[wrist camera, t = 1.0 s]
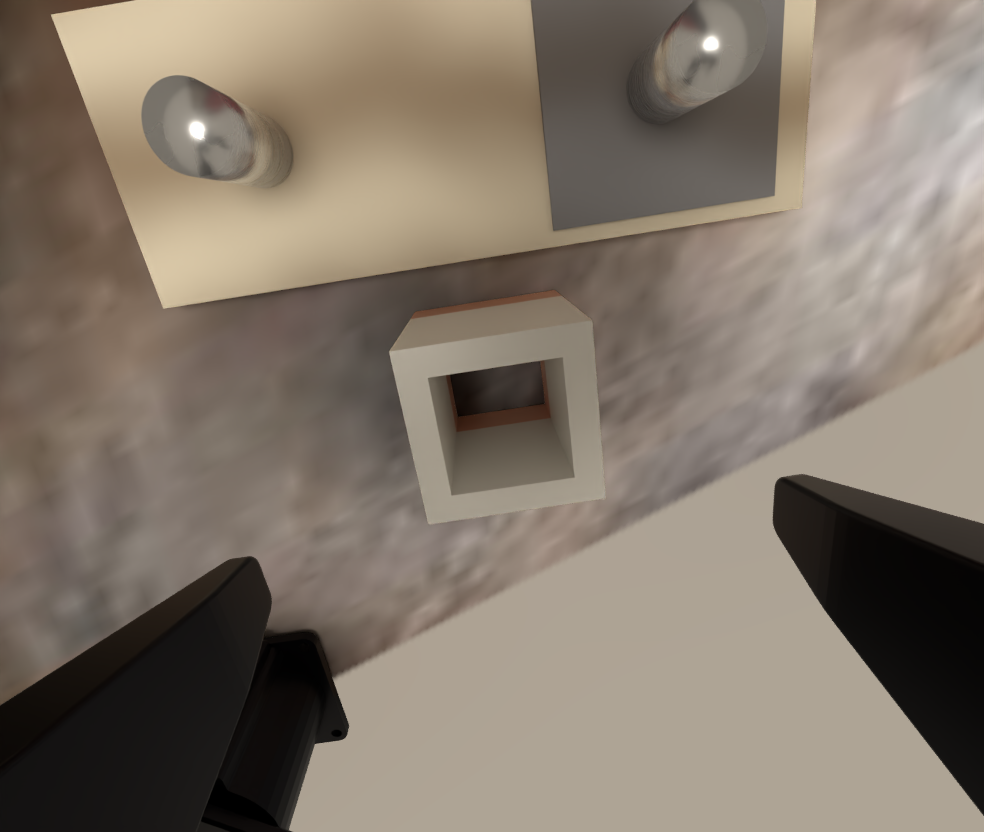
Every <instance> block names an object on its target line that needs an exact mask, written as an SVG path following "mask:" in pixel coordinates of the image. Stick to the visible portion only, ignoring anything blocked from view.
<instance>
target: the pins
mask: <svg viewBox="0 0 984 832" xmlns="http://www.w3.org/2000/svg"><path fill="white" fill-rule="evenodd" d="M766 40H767V19H766V15H765V11H764V9H763V6H762V4H761V2H760V1H759V0H694V1H693V2H692V3H691V4H690V5H689V6H688V7H687V8H686V9H685V10H684V11H683V12H682V13H681V14H680V15H679V16H678V17H677V18H676V19H675V20H674V21H673V22H672V23H671V24H670V25H669V26H668V27H667V28H666V29H665V30H664V31H663V32H662V33H661V34H660V35H659V36H658V37H657V38H656V39H655V40H654V41H653V42H652V43H651V44H650V45H649V46H648V47H647V48H646V50H645V51H644V52H643V53H642V54H641V55H640V56H639V57H638V58H637V59H636V61H635V62H634V64H633V66H632V68H631V70H630V73H629V76H628V81H627V96H628V101H629V103H630V106H631V108H632V110H633V111H634V113H635V114H636V115H637V116H638V117H639V118H641V119H642V120H644V121H645V122H648V123H652V124H663V123H667V122H669V121H672V120H673V119H675V118H677V117H679V116H681V115H683V114H685V113H687V112H689V111H691V110H693V109H695V108H696V107H698V106H700V105H702V104H704V103H706V102H708V101H710V100H712V99H714V98H716V97H718V96H719V95H721V94H723V93H725V92H727V91H729V90H731V89H733V88H735V87H736V86H738V85H740V84H741V83H742V82H744V81H745V80H746V79H747V78H748V77H749V76H750V75H751V73H752V72H753V71H754V70H755V68H756V67H757V65H758V63H759V61H760V59H761V57H762V55H763V52H764V49H765V45H766ZM141 120H142V127H143V131H144V134H145V137H146V139H147V142H148V143H149V145H150V147H151V149H152V150H153V152H154V153H155V154H156V155H157V157H158V158H159V159H160V160H161V161H162V162H163V163H164V164H166V165H167V166H168V167H170V168H171V169H173V170H174V171H176V172H179V173H181V174H184V175H187V176H192V177H198V178H204V179H210V180H216V181H221V182H227V183H233V184H239V185H245V186H251V187H257V188H272V187H275V186H277V185H279V184H281V183H282V182H283V181H284V180H285V179H286V178H287V177H288V175H289V174H290V171H291V169H292V166H293V149H292V145H291V142H290V139H289V137H288V135H287V134H286V132H285V131H284V129H283V128H282V127H281V126H280V125H279V124H278V123H277V122H276V121H274V120H273V119H271V118H269V117H268V116H266V115H264V114H262V113H260V112H258V111H256V110H254V109H252V108H250V107H249V106H247V105H245V104H243V103H241V102H239V101H237V100H235V99H233V98H231V97H229V96H228V95H226V94H224V93H222V92H220V91H218V90H216V89H214V88H212V87H210V86H209V85H207V84H205V83H203V82H201V81H199V80H197V79H194V78H192V77H188V76H183V75H173V76H168V77H165V78H162V79H160V80H159V81H157V82H156V83H155V84H154V85H152V86H151V88H150V89H149V90H148V92H147V94H146V95H145V98H144V101H143V104H142V111H141Z"/></svg>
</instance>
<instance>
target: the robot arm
mask: <svg viewBox="0 0 984 832" xmlns="http://www.w3.org/2000/svg"><path fill="white" fill-rule="evenodd" d="M773 525H774V528H775V531H776V533H777V535H778V537H779V538H780V540H781V542H782V543H783V545H784V547H785V548H786V550H787V551H788V553H789V554H790V556H791V558H792V559H793V561H794V563H795V564H796V566H797V567H798V569H799V571H800V572H801V574H802V575H803V577H804V579H805V580H806V582H807V583H808V585H809V587H810V588H811V590H812V591H813V593H814V595H815V596H816V598H817V599H818V601H819V602H820V604H821V605H822V607H823V608H824V610H825V611H826V612H827V614H828V615H829V616H830V618H831V619H832V621H833V622H834V623H835V624H836V626H837V627H838V628H839V630H840V631H841V632H842V634H843V635H844V636H845V637H846V639H847V640H848V641H849V643H850V644H851V645H852V646H853V648H854V649H855V650H856V652H857V653H858V654H859V655H860V657H861V658H862V659H863V661H864V662H865V663H866V665H867V666H868V667H869V668H870V670H871V671H872V672H873V674H874V675H875V676H876V677H877V679H878V680H879V681H880V683H881V684H882V685H883V687H884V688H885V689H886V690H887V692H888V693H889V694H890V696H891V697H892V698H893V699H894V701H895V702H896V703H897V704H898V706H899V707H900V708H901V710H902V711H903V712H904V714H905V715H906V716H907V717H908V719H909V720H910V721H911V723H912V724H913V725H914V727H915V728H916V729H917V730H918V731H919V733H920V734H921V736H922V737H923V738H924V739H925V740H926V742H927V743H928V745H929V746H930V747H931V748H932V750H933V751H934V752H935V754H936V755H937V756H938V757H939V759H940V760H941V761H942V763H943V764H944V765H945V767H946V768H947V769H948V770H949V772H950V773H951V774H952V775H953V777H954V778H955V779H956V780H957V782H958V783H959V785H960V786H961V787H962V788H963V790H964V791H965V792H966V793H967V795H968V796H969V797H970V799H971V800H972V801H973V802H974V804H975V805H976V806H977V808H978V809H979V810H980V812H981V813H982V814H983V816H984V524H982V523H979V522H975V521H972V520H968V519H965V518H961V517H957V516H954V515H950V514H946V513H942V512H939V511H936V510H932V509H928V508H925V507H921V506H918V505H914V504H910V503H906V502H903V501H900V500H896V499H892V498H889V497H885V496H881V495H877V494H874V493H870V492H866V491H863V490H859V489H856V488H852V487H849V486H845V485H841V484H838V483H834V482H831V481H827V480H823V479H820V478H816V477H813V476H809V475H805V474H799V475H792V476H786V477H781V478H779V479H778V480H777V482H776V484H775V490H774V506H773ZM271 604H272V598H271V593H270V590H269V588H268V585H267V582H266V580H265V577H264V575H263V572H262V569H261V567H260V564H259V562H258V561H257V559H256V558H254V557H252V556H248V557H241V558H234V559H230V560H227V561H226V562H224V563H222V564H221V565H219V566H218V567H216V568H215V569H213V570H212V571H210V572H208V573H207V574H205V575H204V576H202V577H201V578H199V579H197V580H196V581H194V582H193V583H191V584H190V585H188V586H186V587H185V588H183V589H182V590H180V591H179V592H177V593H175V594H174V595H172V596H171V597H169V598H168V599H166V600H165V601H163V602H161V603H160V604H158V605H157V606H155V607H154V608H152V609H150V610H149V611H147V612H146V613H144V614H143V615H141V616H139V617H138V618H136V619H135V620H133V621H132V622H130V623H128V624H127V625H125V626H124V627H122V628H121V629H119V630H118V631H116V632H114V633H113V634H111V635H110V636H108V637H107V638H105V639H103V640H102V641H100V642H99V643H97V644H96V645H94V646H92V647H91V648H89V649H88V650H86V651H85V652H83V653H82V654H80V655H78V656H77V657H75V658H74V659H72V660H71V661H69V662H67V663H66V664H64V665H63V666H61V667H60V668H58V669H56V670H55V671H53V672H52V673H50V674H49V675H47V676H45V677H44V678H42V679H41V680H39V681H38V682H36V683H35V684H33V685H31V686H30V687H28V688H27V689H25V690H24V691H22V692H20V693H19V694H17V695H16V696H14V697H13V698H11V699H9V700H8V701H6V702H5V703H3V704H2V705H0V832H292V831H289V827H290V824H291V820H292V817H293V814H294V810H295V807H296V804H297V801H298V797H299V794H300V791H301V787H302V784H303V781H304V778H305V774H306V771H307V768H308V764H309V761H310V757H311V754H312V751H313V748H314V745H315V744H317V743H324V742H331V741H339V740H342V739H344V738H345V737H346V736H347V732H348V728H349V724H348V721H347V718H346V715H345V713H344V710H343V707H342V704H341V702H340V699H339V696H338V693H337V690H336V687H335V684H334V682H333V679H332V676H331V673H330V670H329V668H328V665H327V662H326V659H325V656H324V654H323V651H322V648H321V645H320V642H319V639H318V638H317V636H316V635H314V634H312V633H309V632H303V633H296V634H289V635H282V636H275V637H268V638H263V637H264V633H265V629H266V626H267V622H268V618H269V614H270V610H271ZM303 643H306V644H308V645H305V644H303Z"/></svg>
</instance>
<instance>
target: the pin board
mask: <svg viewBox="0 0 984 832" xmlns="http://www.w3.org/2000/svg"><path fill="white" fill-rule="evenodd" d="M693 1H694V0H135V1H129V2H123V3H117V4H111V5H106V6H100V7H94V8H88V9H82V10H76V11H70V12H64V13H59V14H53V15H51V16H52V19H53V21H54V24H55V26H56V29H57V32H58V34H59V37H60V39H61V42H62V45H63V47H64V50H65V53H66V55H67V58H68V60H69V63H70V66H71V68H72V71H73V73H74V76H75V79H76V81H77V84H78V87H79V89H80V92H81V94H82V97H83V100H84V102H85V105H86V107H87V110H88V113H89V115H90V118H91V120H92V123H93V126H94V128H95V131H96V134H97V136H98V139H99V141H100V144H101V147H102V149H103V152H104V154H105V157H106V160H107V162H108V165H109V168H110V170H111V173H112V175H113V178H114V181H115V183H116V186H117V188H118V191H119V194H120V196H121V199H122V201H123V204H124V207H125V209H126V212H127V215H128V217H129V220H130V222H131V225H132V228H133V230H134V233H135V235H136V238H137V241H138V243H139V246H140V249H141V251H142V254H143V256H144V259H145V262H146V264H147V267H148V269H149V272H150V275H151V277H152V280H153V282H154V285H155V288H156V290H157V293H158V296H159V298H160V301H161V303H162V306H163V309H164V308H170V307H177V306H183V305H189V304H196V303H202V302H208V301H215V300H221V299H227V298H234V297H240V296H246V295H253V294H259V293H266V292H272V291H278V290H285V289H291V288H297V287H304V286H310V285H316V284H323V283H329V282H335V281H342V280H348V279H354V278H361V277H367V276H373V275H380V274H386V273H392V272H399V271H405V270H411V269H418V268H424V267H430V266H437V265H443V264H449V263H456V262H462V261H469V260H475V259H481V258H488V257H494V256H500V255H507V254H513V253H519V252H526V251H532V250H538V249H545V248H551V247H557V246H564V245H570V244H576V243H583V242H589V241H595V240H602V239H608V238H614V237H621V236H627V235H633V234H640V233H646V232H652V231H659V230H665V229H671V228H678V227H684V226H691V225H697V224H703V223H710V222H716V221H722V220H729V219H735V218H741V217H748V216H754V215H760V214H767V213H773V212H779V211H786V210H792V209H798V208H801V207H802V193H803V179H804V165H805V151H806V136H807V122H808V108H809V94H810V80H811V65H812V51H813V37H814V23H815V9H816V0H759V1H760V2H761V4H762V6H763V9H764V11H765V15H766V19H767V40H766V45H765V49H764V52H763V55H762V57H761V59H760V61H759V63H758V65H757V67H756V68H755V70H754V71H753V72H752V73H751V75H750V76H749V77H748V78H747V79H746V80H745V81H744V82H742V83H741V84H740V85H738V86H736V87H735V88H733V89H731V90H729V91H727V92H725V93H723V94H721V95H719V96H718V97H716V98H714V99H712V100H710V101H708V102H706V103H704V104H702V105H700V106H698V107H696V108H695V109H693V110H691V111H689V112H687V113H685V114H683V115H681V116H679V117H677V118H675V119H673V120H672V121H669V122H667V123H663V124H652V123H648V122H645V121H644V120H642V119H641V118H639V117H638V116H637V115H636V114H635V113H634V111H633V110H632V108H631V106H630V103H629V101H628V96H627V81H628V76H629V73H630V70H631V68H632V66H633V64H634V62H635V61H636V59H637V58H638V57H639V56H640V55H641V54H642V53H643V52H644V51H645V50H646V48H647V47H648V46H649V45H650V44H651V43H652V42H653V41H654V40H655V39H656V38H657V37H658V36H659V35H660V34H661V33H662V32H663V31H664V30H665V29H666V28H667V27H668V26H669V25H670V24H671V23H672V22H673V21H674V20H675V19H676V18H677V17H678V16H679V15H680V14H681V13H682V12H683V11H684V10H685V9H686V8H687V7H688V6H689V5H690V4H691V3H692V2H693ZM173 75H183V76H188V77H192V78H194V79H197V80H199V81H201V82H203V83H205V84H207V85H209V86H210V87H212V88H214V89H216V90H218V91H220V92H222V93H224V94H226V95H228V96H229V97H231V98H233V99H235V100H237V101H239V102H241V103H243V104H245V105H247V106H249V107H250V108H252V109H254V110H256V111H258V112H260V113H262V114H264V115H266V116H268V117H269V118H271V119H273V120H274V121H276V122H277V123H278V124H279V125H280V126H281V127H282V128H283V129H284V131H285V132H286V134H287V135H288V137H289V139H290V142H291V145H292V149H293V166H292V169H291V171H290V174H289V175H288V177H287V178H286V179H285V180H284V181H283V182H282V183H281V184H279V185H277V186H275V187H272V188H257V187H251V186H245V185H239V184H233V183H227V182H221V181H216V180H210V179H204V178H198V177H192V176H187V175H184V174H181V173H179V172H176V171H174V170H173V169H171V168H170V167H168V166H167V165H166V164H164V163H163V162H162V161H161V160H160V159H159V158H158V157H157V155H156V154H155V153H154V152H153V150H152V149H151V147H150V145H149V143H148V142H147V139H146V137H145V134H144V131H143V127H142V120H141V111H142V104H143V101H144V98H145V95H146V94H147V92H148V90H149V89H150V88H151V86H152V85H154V84H155V83H156V82H157V81H159V80H160V79H162V78H165V77H168V76H173Z"/></svg>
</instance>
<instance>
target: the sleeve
mask: <svg viewBox="0 0 984 832" xmlns="http://www.w3.org/2000/svg"><path fill="white" fill-rule="evenodd" d="M389 354H390V359H391V363H392V367H393V372H394V376H395V381H396V385H397V389H398V394H399V398H400V403H401V407H402V411H403V416H404V420H405V425H406V429H407V433H408V438H409V442H410V446H411V451H412V455H413V460H414V464H415V468H416V473H417V477H418V482H419V486H420V490H421V495H422V499H423V504H424V508H425V512H426V517H427V521H428V525H430V524H437V523H444V522H450V521H457V520H464V519H471V518H478V517H484V516H491V515H498V514H505V513H512V512H518V511H525V510H532V509H539V508H545V507H552V506H559V505H566V504H573V503H579V502H586V501H593V500H600V499H606V494H605V481H604V468H603V454H602V441H601V428H600V414H599V401H598V388H597V375H596V361H595V348H594V335H593V321H592V320H591V319H590V318H589V317H588V316H586V315H585V314H584V313H583V312H581V311H580V310H579V309H578V308H576V307H575V306H574V305H573V304H571V303H570V302H569V301H568V300H567V299H565V298H564V297H563V296H562V295H560V294H559V293H558V292H557V291H555V290H551V291H545V292H538V293H532V294H525V295H519V296H513V297H506V298H500V299H493V300H487V301H480V302H474V303H468V304H461V305H455V306H448V307H442V308H436V309H429V310H423V311H416V312H415V313H414V314H413V316H412V317H411V319H410V321H409V322H408V324H407V325H406V327H405V328H404V330H403V331H402V333H401V334H400V336H399V337H398V339H397V340H396V342H395V343H394V345H393V346H392V348H391V349H390V351H389ZM535 361H540V364H541V373H542V382H543V390H544V399H545V404H540V405H534V406H527V407H521V408H514V409H507V410H501V411H494V412H488V413H481V414H474V415H468V416H461V417H458V416H457V410H456V405H455V400H454V394H453V389H452V383H451V378H450V374H457V373H463V372H470V371H476V370H483V369H489V368H496V367H502V366H509V365H515V364H522V363H528V362H535Z"/></svg>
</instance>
